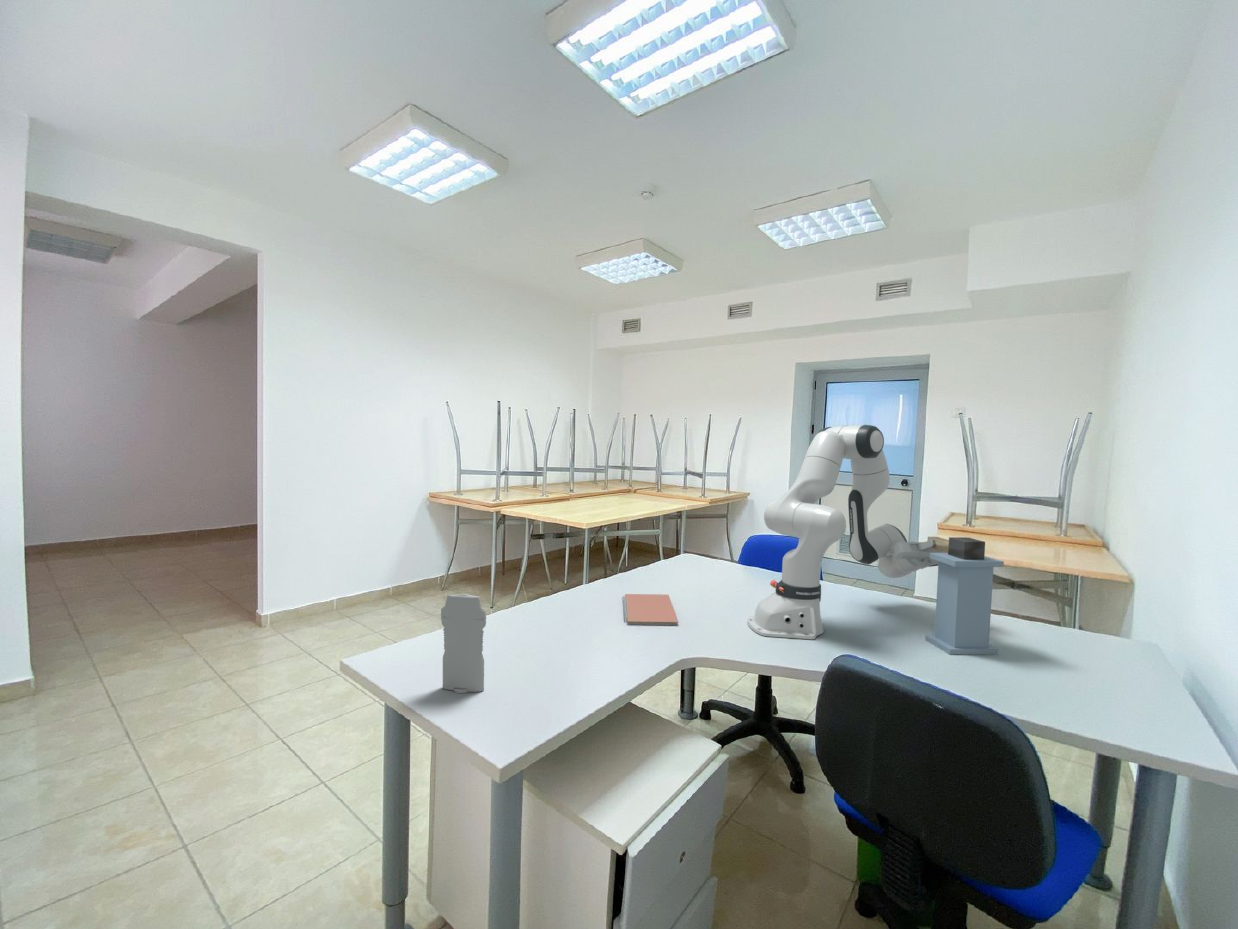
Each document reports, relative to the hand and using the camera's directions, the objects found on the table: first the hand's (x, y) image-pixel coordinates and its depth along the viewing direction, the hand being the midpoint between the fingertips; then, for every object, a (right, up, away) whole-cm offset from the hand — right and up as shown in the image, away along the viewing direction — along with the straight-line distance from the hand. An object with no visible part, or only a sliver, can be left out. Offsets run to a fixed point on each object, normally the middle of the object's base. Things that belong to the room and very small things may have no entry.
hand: (940, 542), depth 152 cm
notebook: (-88, -26, +17) cm, 93 cm away
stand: (0, -29, -9) cm, 30 cm away
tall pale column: (-133, -28, -38) cm, 141 cm away
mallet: (0, -2, -5) cm, 5 cm away
